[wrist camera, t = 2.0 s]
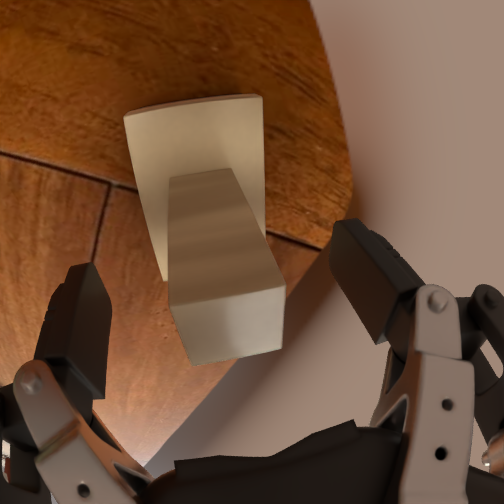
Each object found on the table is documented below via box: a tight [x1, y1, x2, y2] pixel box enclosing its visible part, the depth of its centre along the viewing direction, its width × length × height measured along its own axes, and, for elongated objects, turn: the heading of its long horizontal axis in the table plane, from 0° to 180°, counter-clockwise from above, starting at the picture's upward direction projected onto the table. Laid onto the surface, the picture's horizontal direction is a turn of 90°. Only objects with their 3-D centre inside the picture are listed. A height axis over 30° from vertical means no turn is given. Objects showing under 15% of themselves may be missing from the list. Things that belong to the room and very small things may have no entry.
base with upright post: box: [123, 93, 286, 366], centre depth 11 cm, size 8×5×10 cm, turn 2°
